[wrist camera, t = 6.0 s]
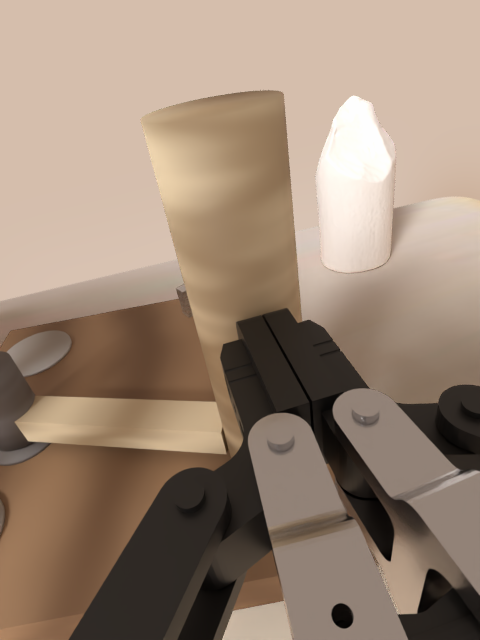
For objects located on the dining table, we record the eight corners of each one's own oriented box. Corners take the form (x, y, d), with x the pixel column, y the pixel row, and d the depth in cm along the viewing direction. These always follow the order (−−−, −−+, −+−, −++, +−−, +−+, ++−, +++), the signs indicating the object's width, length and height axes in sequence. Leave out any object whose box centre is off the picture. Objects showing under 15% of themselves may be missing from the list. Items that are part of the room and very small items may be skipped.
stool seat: (-150, 683, 15) (-197, 664, 13) (23, 352, 30) (9, 328, 29) (370, 584, 15) (372, 555, 13) (275, 304, 30) (271, 278, 29)
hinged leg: (-24, 457, 19) (-259, 182, 12) (21, 402, 22) (-146, 150, 15) (309, 484, 16) (274, 109, 8) (313, 413, 18) (289, 84, 11)
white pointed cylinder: (345, 109, 25) (295, 104, 29) (346, 281, 31) (305, 256, 36) (421, 88, 26) (362, 86, 31) (406, 255, 33) (360, 234, 37)
